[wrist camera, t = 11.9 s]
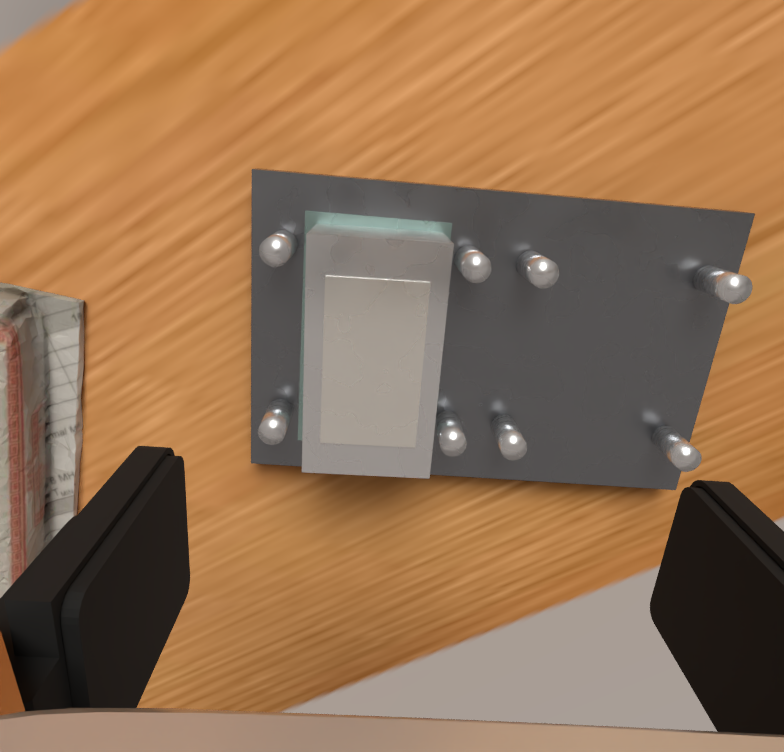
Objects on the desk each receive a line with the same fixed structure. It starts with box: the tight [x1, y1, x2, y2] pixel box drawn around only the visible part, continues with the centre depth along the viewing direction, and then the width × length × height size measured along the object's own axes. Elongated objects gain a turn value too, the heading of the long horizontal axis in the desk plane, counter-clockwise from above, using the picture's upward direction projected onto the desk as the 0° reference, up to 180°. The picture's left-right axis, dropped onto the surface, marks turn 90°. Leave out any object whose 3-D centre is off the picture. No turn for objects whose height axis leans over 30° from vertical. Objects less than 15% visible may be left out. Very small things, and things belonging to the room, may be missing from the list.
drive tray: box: [251, 169, 755, 490], centre depth 27 cm, size 22×14×4 cm, turn 85°
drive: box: [302, 223, 454, 479], centre depth 25 cm, size 6×10×4 cm, turn 176°
